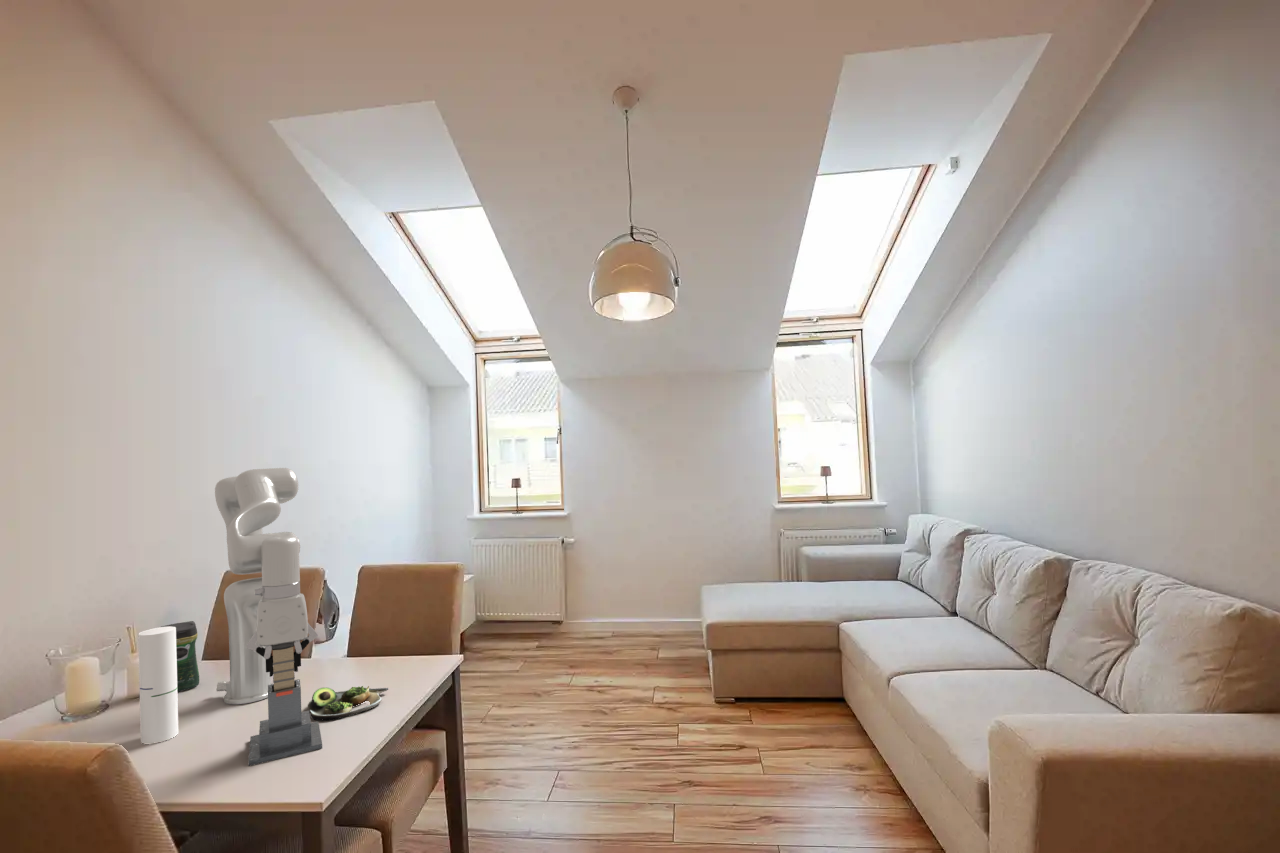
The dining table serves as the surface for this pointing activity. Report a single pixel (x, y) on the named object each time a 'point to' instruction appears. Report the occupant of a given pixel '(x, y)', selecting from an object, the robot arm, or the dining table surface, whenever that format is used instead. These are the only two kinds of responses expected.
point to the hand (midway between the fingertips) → (283, 671)
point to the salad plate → (342, 702)
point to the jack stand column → (283, 666)
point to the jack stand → (284, 728)
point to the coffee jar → (186, 655)
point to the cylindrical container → (158, 684)
